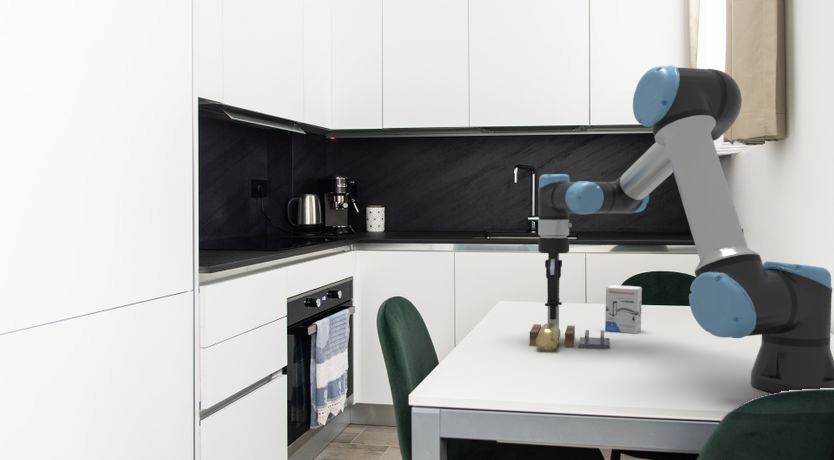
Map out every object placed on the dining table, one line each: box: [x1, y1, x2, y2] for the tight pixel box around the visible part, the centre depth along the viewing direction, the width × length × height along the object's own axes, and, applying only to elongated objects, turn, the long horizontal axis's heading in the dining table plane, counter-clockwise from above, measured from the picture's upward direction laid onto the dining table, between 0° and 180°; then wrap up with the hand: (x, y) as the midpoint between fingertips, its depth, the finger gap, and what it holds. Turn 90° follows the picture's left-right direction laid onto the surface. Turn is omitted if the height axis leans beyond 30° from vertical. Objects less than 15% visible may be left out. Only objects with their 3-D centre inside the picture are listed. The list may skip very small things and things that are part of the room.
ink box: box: [604, 284, 643, 335], centre depth 217 cm, size 9×5×12 cm, turn 62°
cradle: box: [578, 329, 611, 350], centre depth 198 cm, size 9×7×3 cm
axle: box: [535, 322, 561, 353], centre depth 195 cm, size 12×5×5 cm, turn 167°
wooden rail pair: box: [529, 324, 576, 348], centre depth 202 cm, size 12×10×3 cm
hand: (553, 331), depth 206 cm, fingers closed
